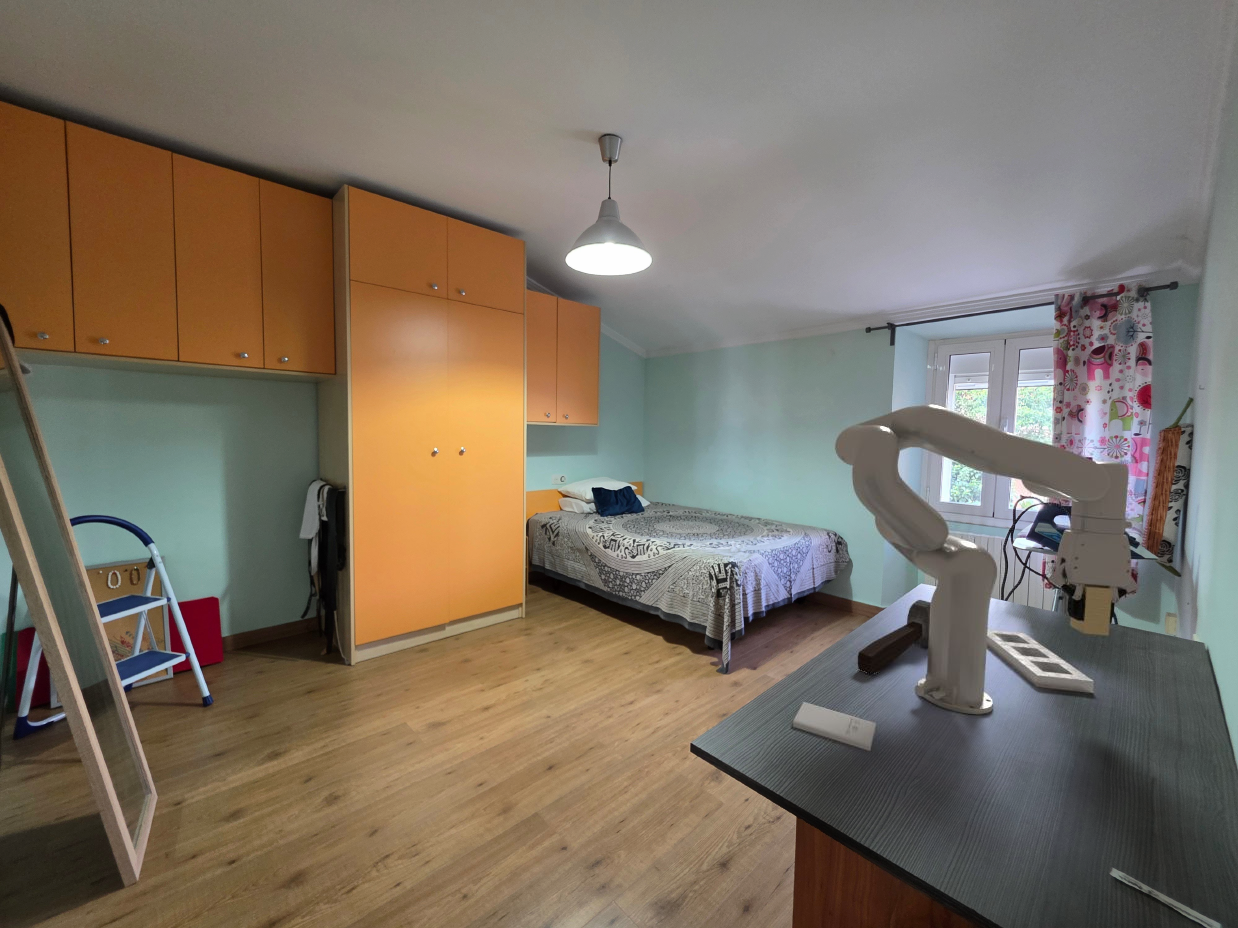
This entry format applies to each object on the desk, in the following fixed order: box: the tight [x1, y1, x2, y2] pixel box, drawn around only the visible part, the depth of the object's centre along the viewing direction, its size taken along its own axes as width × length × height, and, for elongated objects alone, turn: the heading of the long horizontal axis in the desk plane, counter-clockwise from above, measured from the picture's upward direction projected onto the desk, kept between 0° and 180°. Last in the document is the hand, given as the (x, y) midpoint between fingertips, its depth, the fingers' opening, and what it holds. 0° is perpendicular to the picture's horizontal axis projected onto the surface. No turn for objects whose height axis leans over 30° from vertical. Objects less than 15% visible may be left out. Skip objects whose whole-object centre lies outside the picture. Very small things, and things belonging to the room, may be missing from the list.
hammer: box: [857, 599, 931, 676], centre depth 118 cm, size 5×11×30 cm
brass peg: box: [1069, 585, 1112, 637], centre depth 97 cm, size 4×4×9 cm
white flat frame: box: [987, 629, 1095, 694], centre depth 117 cm, size 26×10×2 cm, turn 167°
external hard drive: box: [792, 701, 877, 752], centre depth 90 cm, size 2×8×12 cm
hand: (1089, 618), depth 97 cm, fingers closed on brass peg, 4 cm apart
